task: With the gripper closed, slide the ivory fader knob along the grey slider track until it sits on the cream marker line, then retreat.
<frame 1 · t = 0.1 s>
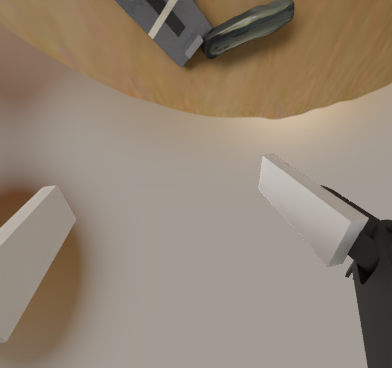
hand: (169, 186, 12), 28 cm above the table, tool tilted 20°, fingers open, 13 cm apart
mobile phone: (243, 22, 29), on the table
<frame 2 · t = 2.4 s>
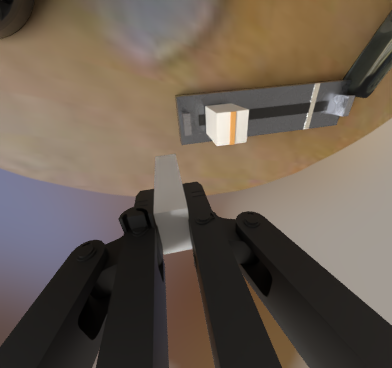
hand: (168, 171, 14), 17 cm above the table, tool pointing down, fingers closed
mobile phone: (371, 44, 28), on the table
grey slider track: (260, 110, 30), on the table
fader: (224, 123, 25), point 5 cm above the table, slide at -8.0 cm
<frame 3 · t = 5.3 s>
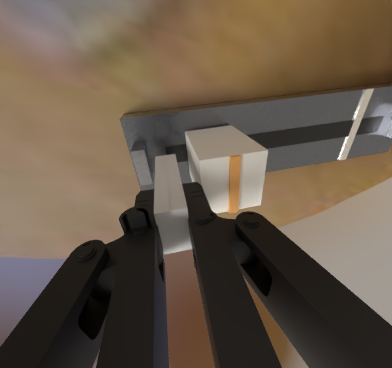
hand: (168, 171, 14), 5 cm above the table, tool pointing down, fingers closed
grey slider track: (269, 132, 19), on the table
fader: (219, 165, 13), point 5 cm above the table, slide at -7.1 cm, touching gripper
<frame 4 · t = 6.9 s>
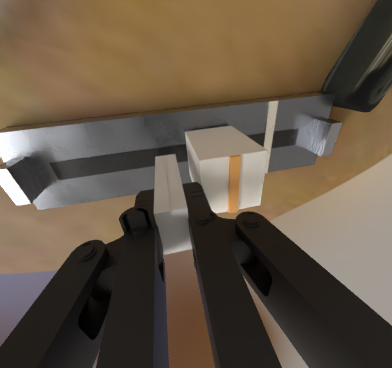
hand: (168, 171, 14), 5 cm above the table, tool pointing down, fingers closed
mobile phone: (376, 12, 15), on the table
grey slider track: (182, 145, 18), on the table
fader: (219, 165, 13), point 6 cm above the table, slide at 2.2 cm, touching gripper
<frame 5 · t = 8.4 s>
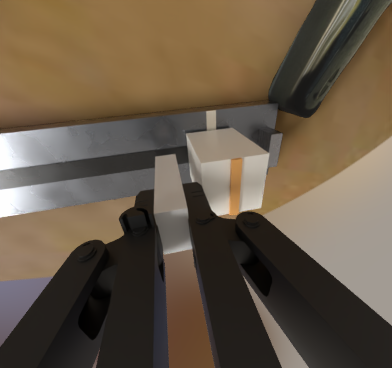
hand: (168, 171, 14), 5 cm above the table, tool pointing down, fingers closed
mobile phone: (319, 13, 15), on the table
grey slider track: (125, 154, 17), on the table
fader: (220, 167, 13), point 6 cm above the table, slide at 7.8 cm, touching gripper
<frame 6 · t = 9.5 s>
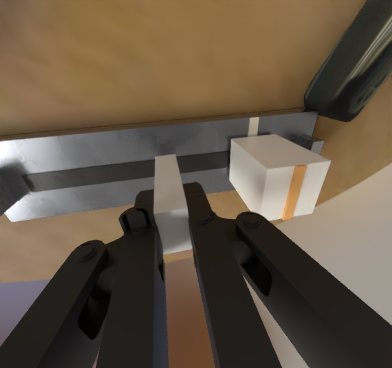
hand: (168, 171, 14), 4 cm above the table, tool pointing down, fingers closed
mobile phone: (361, 21, 15), on the table
grey slider track: (163, 158, 17), on the table
fader: (268, 173, 14), point 5 cm above the table, slide at 7.9 cm
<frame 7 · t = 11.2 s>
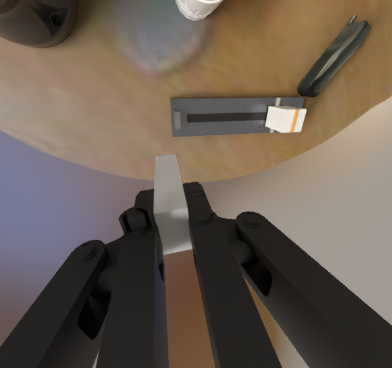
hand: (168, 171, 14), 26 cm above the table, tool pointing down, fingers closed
mobile phone: (322, 59, 37), on the table
grey slider track: (236, 115, 39), on the table
fader: (284, 118, 35), point 6 cm above the table, slide at 7.9 cm
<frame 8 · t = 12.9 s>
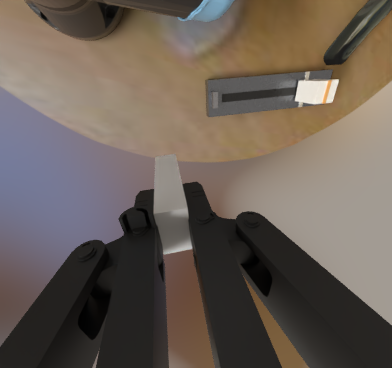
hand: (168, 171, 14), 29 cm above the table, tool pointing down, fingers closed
mobile phone: (350, 27, 38), on the table
grey slider track: (265, 92, 41), on the table
fader: (315, 91, 37), point 5 cm above the table, slide at 7.9 cm
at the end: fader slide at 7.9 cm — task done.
